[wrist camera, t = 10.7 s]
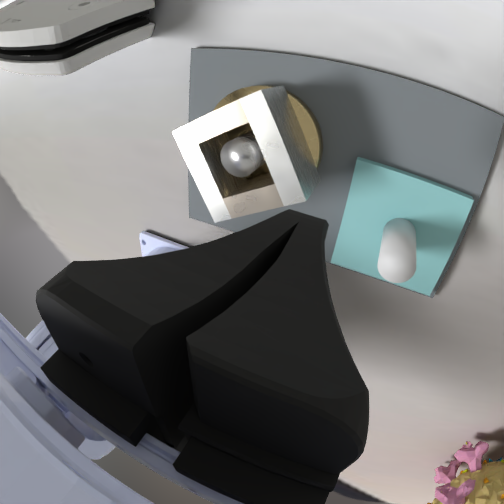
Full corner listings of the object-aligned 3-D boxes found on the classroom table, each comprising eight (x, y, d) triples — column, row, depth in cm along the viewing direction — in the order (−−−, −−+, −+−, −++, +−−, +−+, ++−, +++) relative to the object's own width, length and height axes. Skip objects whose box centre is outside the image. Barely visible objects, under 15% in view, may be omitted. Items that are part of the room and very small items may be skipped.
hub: (312, 208, 19) (294, 236, 17) (212, 181, 21) (181, 202, 19) (331, 96, 15) (316, 103, 13) (217, 79, 17) (181, 85, 15)
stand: (429, 290, 19) (429, 333, 16) (332, 257, 21) (316, 295, 18) (471, 196, 14) (486, 229, 11) (357, 156, 16) (346, 179, 13)
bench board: (432, 294, 19) (432, 298, 19) (192, 215, 24) (189, 217, 24) (502, 116, 12) (505, 117, 11) (194, 48, 17) (191, 48, 17)
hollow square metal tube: (321, 180, 17) (306, 201, 15) (238, 201, 20) (214, 222, 18) (283, 85, 15) (260, 89, 13) (202, 120, 18) (172, 132, 16)
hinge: (172, -26, 14) (38, 23, 9) (169, 31, 18) (53, 95, 14) (50, -26, 16) (-39, 20, 11) (54, 12, 20) (-28, 60, 15)
